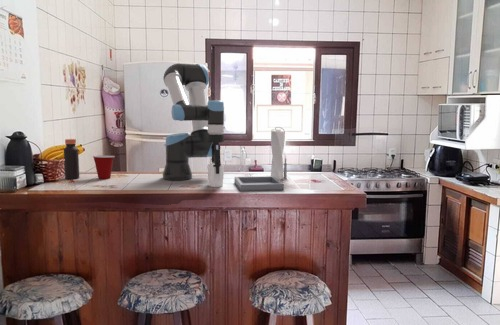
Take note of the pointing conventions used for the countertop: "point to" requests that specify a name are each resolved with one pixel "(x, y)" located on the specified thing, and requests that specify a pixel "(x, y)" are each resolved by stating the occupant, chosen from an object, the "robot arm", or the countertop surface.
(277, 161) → the skyscraper
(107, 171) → the plastic cup
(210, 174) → the white cup
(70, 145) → the bottle
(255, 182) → the slate tray
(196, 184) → the countertop surface
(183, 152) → the robot arm
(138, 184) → the countertop surface
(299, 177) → the countertop surface
